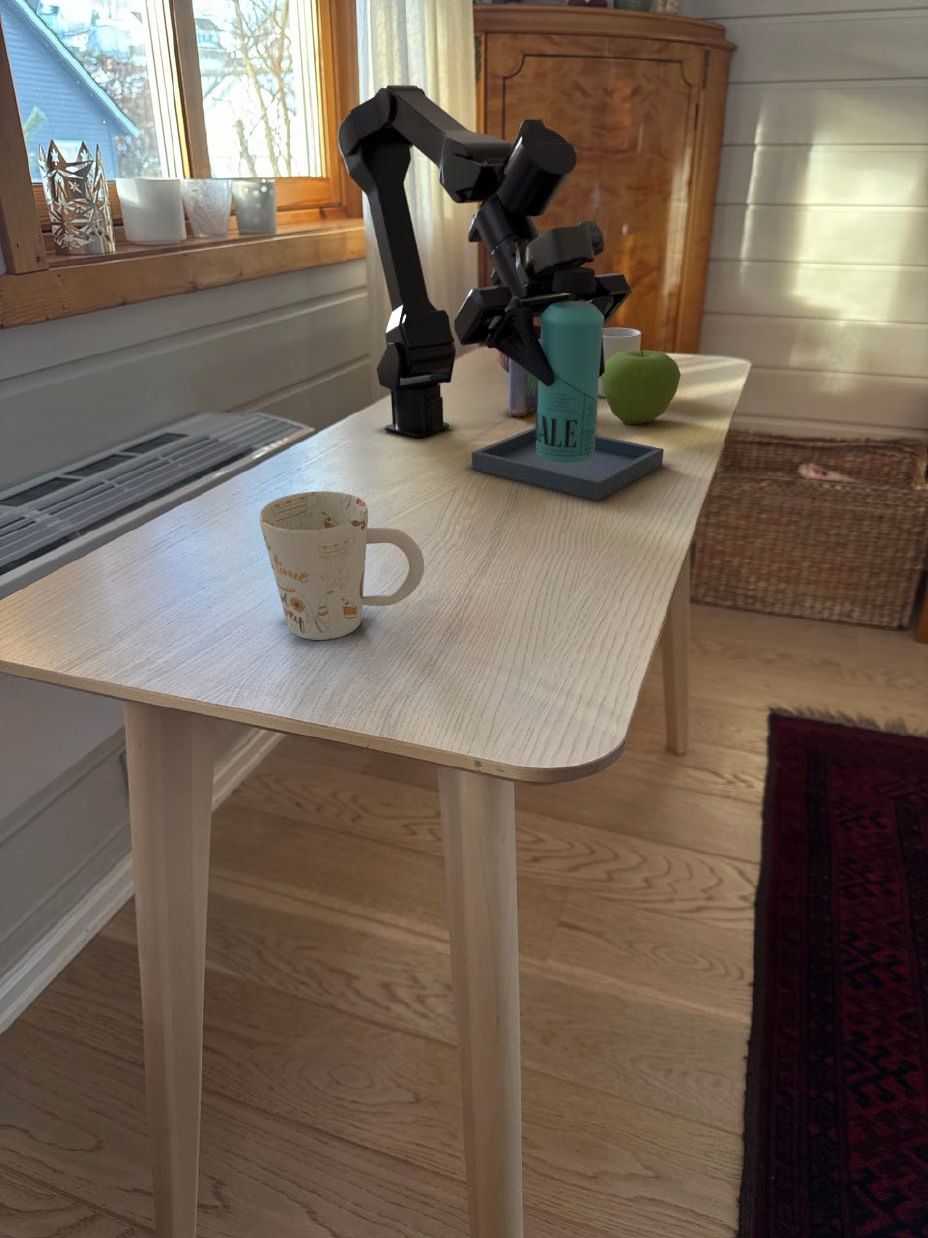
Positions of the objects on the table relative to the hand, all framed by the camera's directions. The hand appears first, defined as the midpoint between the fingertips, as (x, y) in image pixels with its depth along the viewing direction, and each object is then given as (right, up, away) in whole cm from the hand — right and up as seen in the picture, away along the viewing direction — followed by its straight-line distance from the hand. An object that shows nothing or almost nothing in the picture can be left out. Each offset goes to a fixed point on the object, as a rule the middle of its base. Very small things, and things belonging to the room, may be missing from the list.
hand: (576, 379), depth 90 cm
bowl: (-1, +15, +57) cm, 59 cm away
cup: (+10, +11, +49) cm, 51 cm away
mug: (-21, -24, -15) cm, 35 cm away
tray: (+1, -6, +18) cm, 19 cm away
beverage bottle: (-1, -8, +6) cm, 10 cm away
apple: (+13, +3, +34) cm, 37 cm away
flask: (-2, +6, +41) cm, 41 cm away
